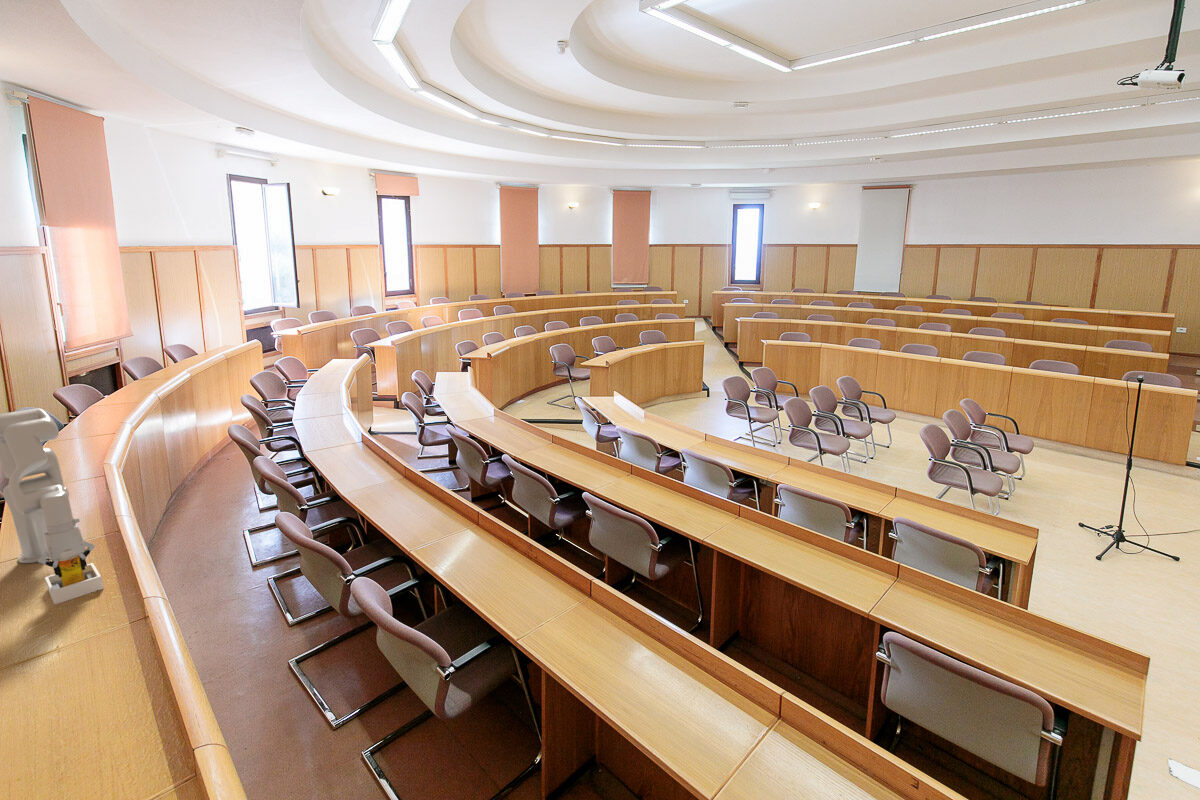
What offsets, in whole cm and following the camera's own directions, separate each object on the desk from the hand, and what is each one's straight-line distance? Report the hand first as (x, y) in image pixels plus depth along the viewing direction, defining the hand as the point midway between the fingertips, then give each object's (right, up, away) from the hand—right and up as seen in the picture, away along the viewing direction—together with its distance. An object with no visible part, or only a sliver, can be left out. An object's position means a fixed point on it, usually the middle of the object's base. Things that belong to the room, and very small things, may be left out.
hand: (71, 571), depth 220 cm
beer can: (0, -6, +1) cm, 6 cm away
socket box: (0, -7, +2) cm, 7 cm away
